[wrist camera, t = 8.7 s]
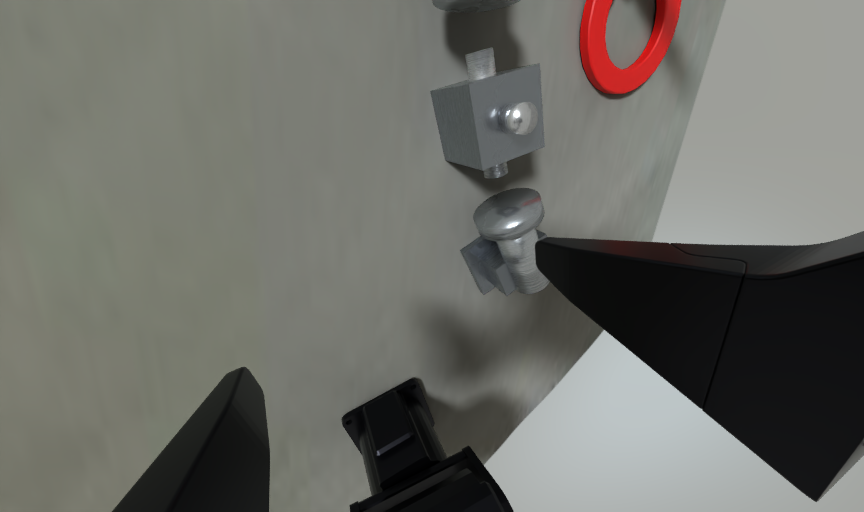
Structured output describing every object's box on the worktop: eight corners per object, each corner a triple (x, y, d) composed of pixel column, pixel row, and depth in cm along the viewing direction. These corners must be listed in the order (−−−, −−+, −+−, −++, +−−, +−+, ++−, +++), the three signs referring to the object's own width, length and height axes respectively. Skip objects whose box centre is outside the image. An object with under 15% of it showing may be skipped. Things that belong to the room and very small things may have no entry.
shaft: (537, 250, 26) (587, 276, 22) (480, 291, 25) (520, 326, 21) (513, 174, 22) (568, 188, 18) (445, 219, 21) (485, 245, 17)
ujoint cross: (499, 159, 21) (561, 171, 17) (448, 178, 20) (499, 197, 16) (485, 50, 18) (556, 27, 14) (424, 67, 17) (478, 48, 13)
